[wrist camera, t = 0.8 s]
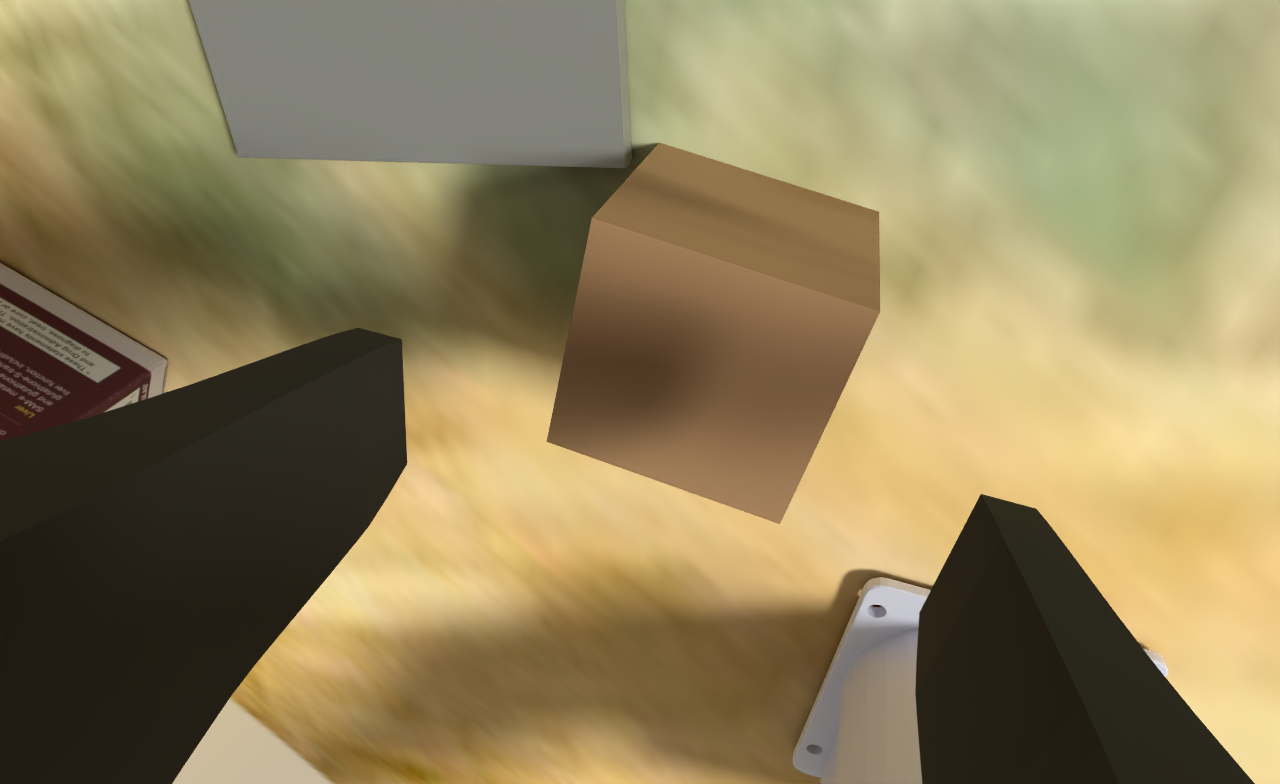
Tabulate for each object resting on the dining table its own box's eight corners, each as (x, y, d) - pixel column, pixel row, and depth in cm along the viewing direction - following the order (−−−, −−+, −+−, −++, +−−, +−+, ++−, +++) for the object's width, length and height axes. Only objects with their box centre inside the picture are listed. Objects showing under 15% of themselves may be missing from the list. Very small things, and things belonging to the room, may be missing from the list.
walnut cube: (800, 393, 19) (780, 524, 15) (614, 330, 20) (546, 441, 16) (879, 210, 17) (880, 311, 12) (660, 141, 17) (591, 218, 13)
